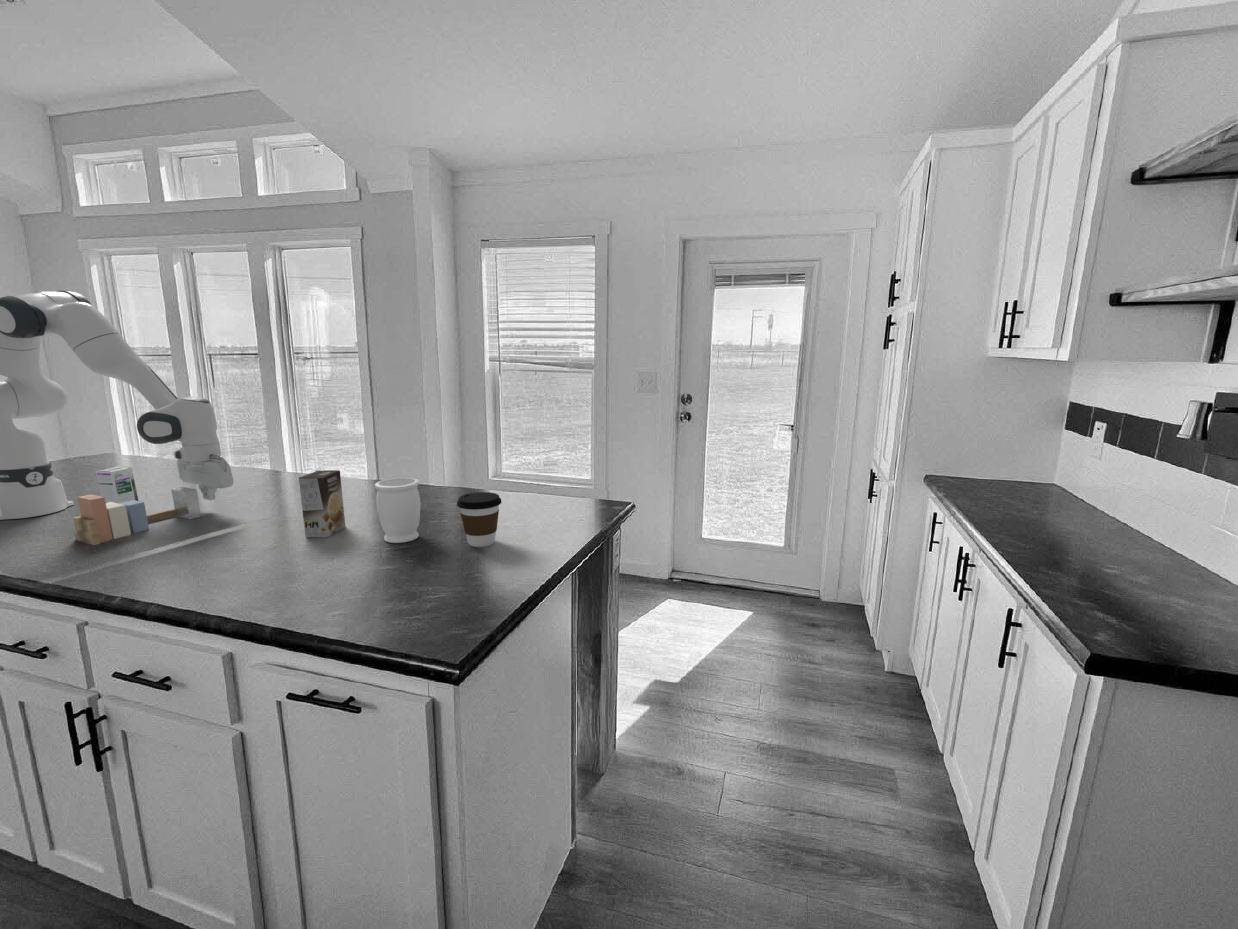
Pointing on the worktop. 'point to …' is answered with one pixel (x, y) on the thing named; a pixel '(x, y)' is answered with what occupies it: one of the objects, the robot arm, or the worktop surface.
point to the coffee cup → (480, 517)
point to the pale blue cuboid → (136, 515)
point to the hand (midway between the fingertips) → (209, 499)
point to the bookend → (186, 503)
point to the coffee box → (322, 503)
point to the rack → (89, 532)
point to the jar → (398, 508)
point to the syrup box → (117, 484)
